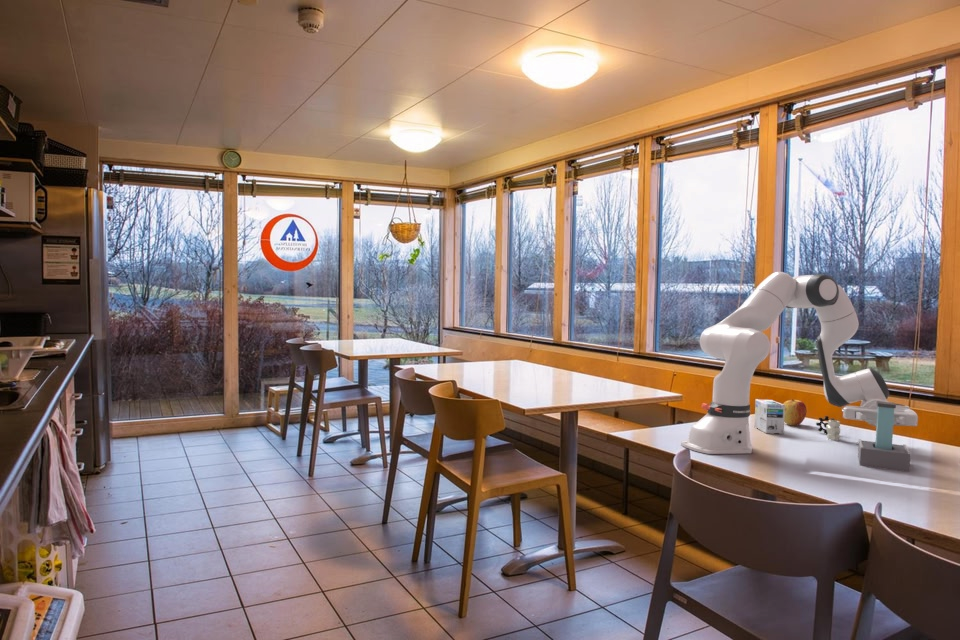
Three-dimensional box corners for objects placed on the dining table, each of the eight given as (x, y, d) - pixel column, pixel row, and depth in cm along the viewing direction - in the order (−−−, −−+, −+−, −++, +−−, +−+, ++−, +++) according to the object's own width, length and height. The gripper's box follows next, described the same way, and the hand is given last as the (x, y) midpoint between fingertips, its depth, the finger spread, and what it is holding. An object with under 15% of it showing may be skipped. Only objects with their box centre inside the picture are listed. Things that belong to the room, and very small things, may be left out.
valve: (845, 441, 221) (835, 434, 232) (846, 422, 220) (836, 416, 232) (824, 440, 222) (815, 432, 234) (825, 421, 222) (816, 414, 234)
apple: (804, 428, 241) (805, 402, 240) (777, 425, 245) (779, 399, 245) (806, 424, 248) (808, 399, 248) (781, 421, 253) (782, 396, 253)
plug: (892, 466, 185) (895, 404, 184) (874, 464, 187) (877, 403, 186) (890, 463, 189) (894, 402, 188) (873, 460, 191) (876, 401, 190)
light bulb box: (784, 434, 229) (786, 404, 229) (765, 433, 229) (767, 403, 229) (771, 427, 240) (772, 399, 240) (753, 427, 240) (754, 398, 240)
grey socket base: (909, 475, 180) (910, 453, 180) (859, 468, 186) (860, 447, 185) (904, 465, 191) (905, 444, 190) (857, 459, 196) (858, 439, 196)
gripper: (841, 399, 215) (843, 405, 203) (914, 406, 206) (920, 413, 193) (840, 418, 215) (841, 425, 203) (913, 425, 206) (919, 433, 194)
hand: (881, 419), depth 198 cm, fingers open, 8 cm apart
